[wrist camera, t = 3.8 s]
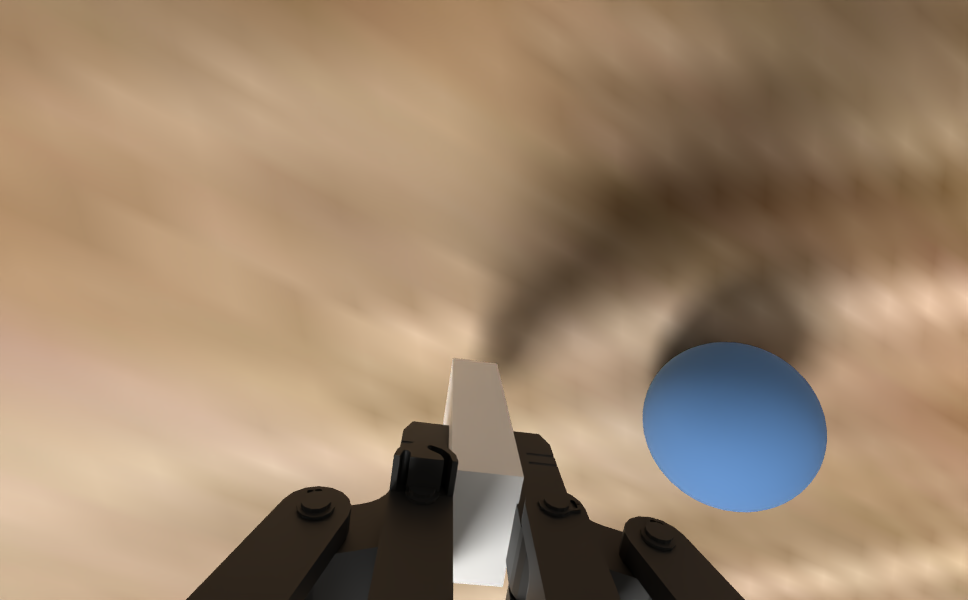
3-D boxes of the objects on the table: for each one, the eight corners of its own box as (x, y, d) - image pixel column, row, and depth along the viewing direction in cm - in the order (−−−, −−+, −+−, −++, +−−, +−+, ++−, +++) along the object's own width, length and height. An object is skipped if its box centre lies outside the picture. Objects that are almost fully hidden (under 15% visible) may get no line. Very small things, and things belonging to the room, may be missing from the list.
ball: (637, 314, 19) (711, 370, 13) (775, 330, 19) (900, 391, 14) (608, 446, 20) (665, 545, 15) (739, 458, 20) (840, 558, 15)
